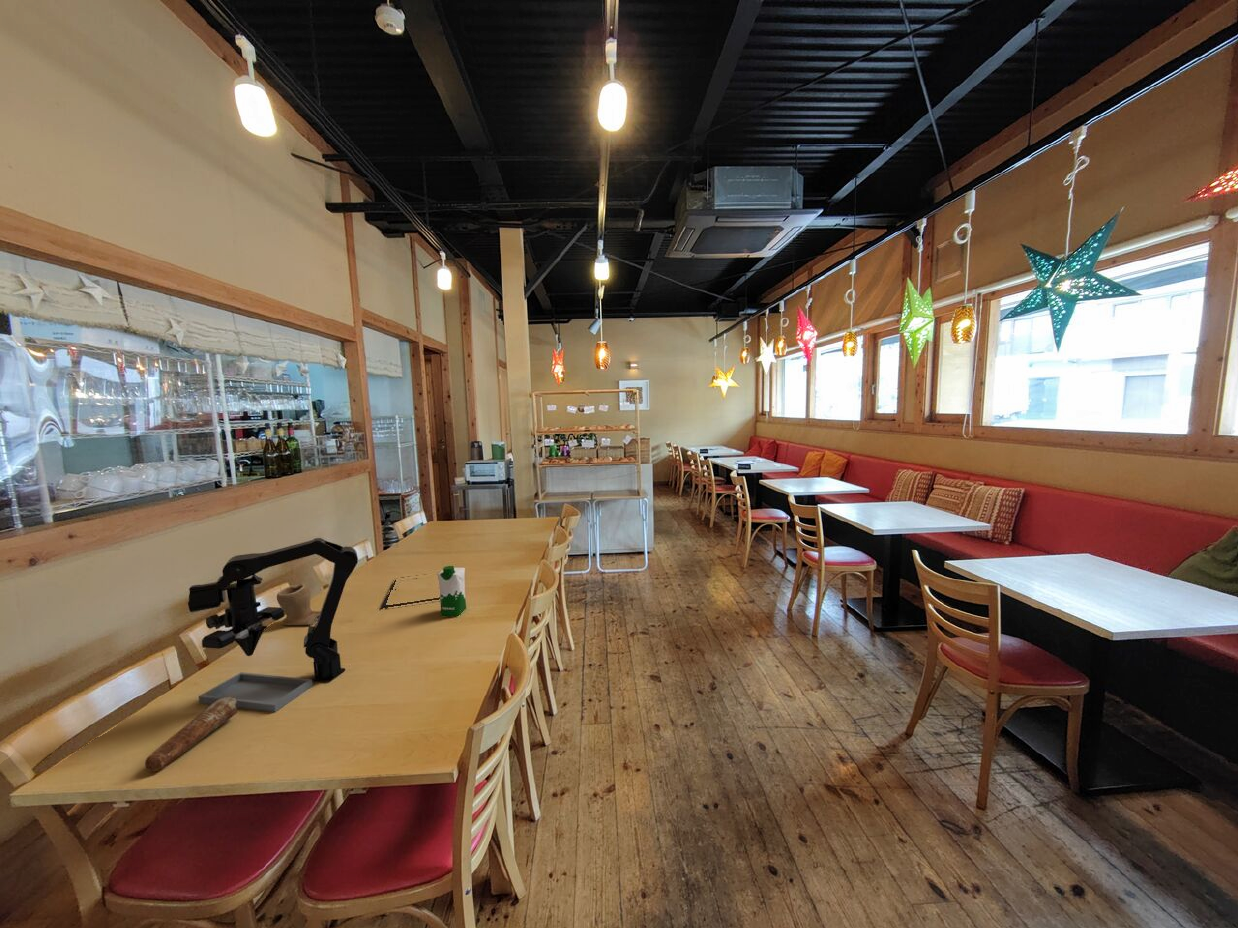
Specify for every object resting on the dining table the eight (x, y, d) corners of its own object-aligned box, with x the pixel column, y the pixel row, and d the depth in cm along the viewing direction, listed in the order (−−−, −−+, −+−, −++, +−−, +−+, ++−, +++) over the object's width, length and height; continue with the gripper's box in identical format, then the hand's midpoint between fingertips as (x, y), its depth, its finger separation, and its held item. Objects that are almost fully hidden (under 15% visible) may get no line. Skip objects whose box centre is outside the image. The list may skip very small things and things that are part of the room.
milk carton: (438, 619, 172) (434, 569, 170) (449, 609, 181) (445, 561, 179) (459, 620, 171) (456, 569, 169) (469, 609, 180) (466, 561, 178)
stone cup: (271, 629, 167) (267, 591, 165) (298, 615, 179) (294, 579, 177) (307, 631, 165) (303, 592, 163) (332, 617, 177) (329, 580, 175)
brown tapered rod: (240, 716, 117) (241, 697, 116) (158, 777, 98) (159, 756, 97) (218, 710, 118) (219, 691, 117) (133, 770, 99) (133, 749, 98)
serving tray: (312, 687, 130) (311, 679, 130) (275, 713, 119) (274, 704, 119) (242, 679, 135) (241, 672, 134) (199, 704, 123) (198, 696, 123)
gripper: (250, 587, 133) (257, 637, 135) (180, 616, 115) (188, 672, 116) (282, 588, 131) (289, 639, 133) (216, 617, 113) (224, 675, 115)
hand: (249, 655), depth 124 cm, fingers closed
